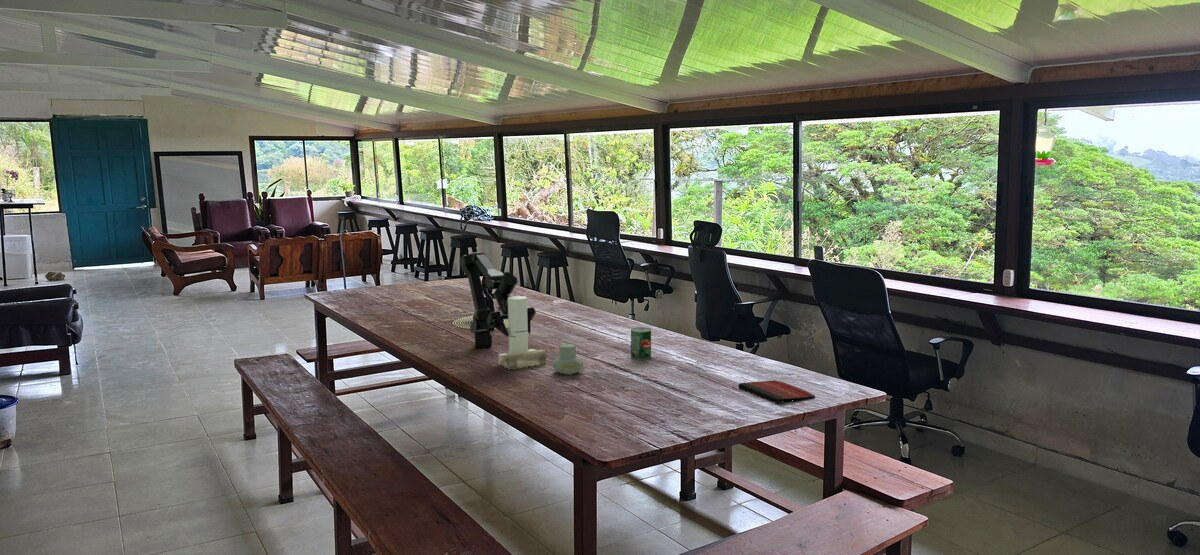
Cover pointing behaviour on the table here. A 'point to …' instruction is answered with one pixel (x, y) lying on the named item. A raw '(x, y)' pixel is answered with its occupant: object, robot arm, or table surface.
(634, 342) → the canned tomato
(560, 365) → the air freshener
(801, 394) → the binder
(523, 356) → the wooden holder
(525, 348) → the cylindrical container
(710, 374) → the table surface
